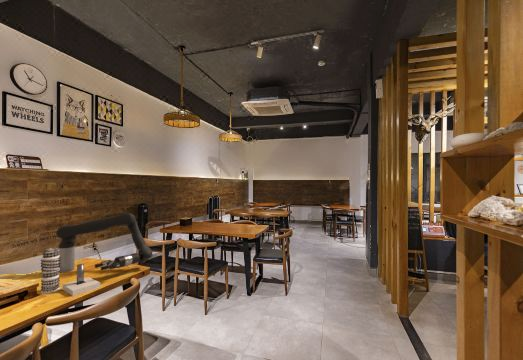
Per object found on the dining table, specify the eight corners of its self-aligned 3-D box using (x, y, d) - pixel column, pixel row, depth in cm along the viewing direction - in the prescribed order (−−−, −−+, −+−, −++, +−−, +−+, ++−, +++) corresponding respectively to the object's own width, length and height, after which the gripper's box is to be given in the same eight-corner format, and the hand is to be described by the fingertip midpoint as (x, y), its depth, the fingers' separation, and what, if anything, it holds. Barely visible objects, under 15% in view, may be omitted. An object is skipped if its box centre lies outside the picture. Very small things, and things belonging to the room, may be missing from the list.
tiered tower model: (59, 291, 144) (59, 249, 145) (38, 295, 139) (39, 251, 140) (61, 286, 152) (62, 245, 152) (42, 289, 147) (42, 247, 148)
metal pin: (75, 287, 149) (76, 264, 150) (82, 285, 152) (82, 263, 152) (77, 289, 147) (78, 266, 148) (84, 287, 150) (85, 264, 150)
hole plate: (62, 289, 147) (62, 284, 147) (88, 281, 159) (88, 277, 159) (72, 296, 138) (72, 290, 138) (100, 287, 150) (100, 282, 150)
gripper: (118, 254, 175) (93, 259, 162) (128, 257, 167) (102, 263, 154) (118, 264, 175) (92, 271, 162) (128, 268, 167) (102, 275, 154)
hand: (97, 267), depth 158 cm, fingers open, 8 cm apart
